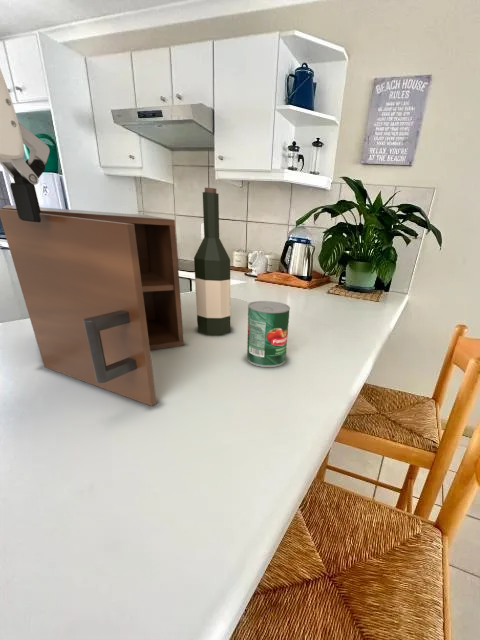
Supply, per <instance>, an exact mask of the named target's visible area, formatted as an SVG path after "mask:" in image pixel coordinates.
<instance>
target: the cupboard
mask: <svg viewBox="0 0 480 640" xmlns="http://www.w3.org/2000/svg"><path fill="white" fill-rule="evenodd" d="M39 207H40V206H39ZM1 209H7V210H16V211H17V209H16V205H15V204H14V205H13V204H5V206H3V207H1ZM40 213H42V214H50V215H59V216H68V217H76V218H85V219H93V220H102V221H110V222H119V223H128V224H134V227H135V235H136V243H137V251H138V259H139V267H140V275H141V283H142V291H143V299H144V307H145V315H146V323H147V330H148V338H149V346H150V351H154V350H161V349H167V348H174V347H182V346H185V342H184V339H185V338H184V327H183V313H182V300H181V289H180V288H181V287H180V285H181V284H180V272H179V260H178V248H177V247H178V246H177V233H176V232H177V231H176V230H177V229H176V220H175V219H172V218H167V217H160V216H154V215H150V214H149V215H148V214H138V213H137V214H136V213H135V214H134V213H120V212H111V211H110V212H108V211H95V210H82V209H81V210H80V209H69V208H54V207H40Z"/></svg>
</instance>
